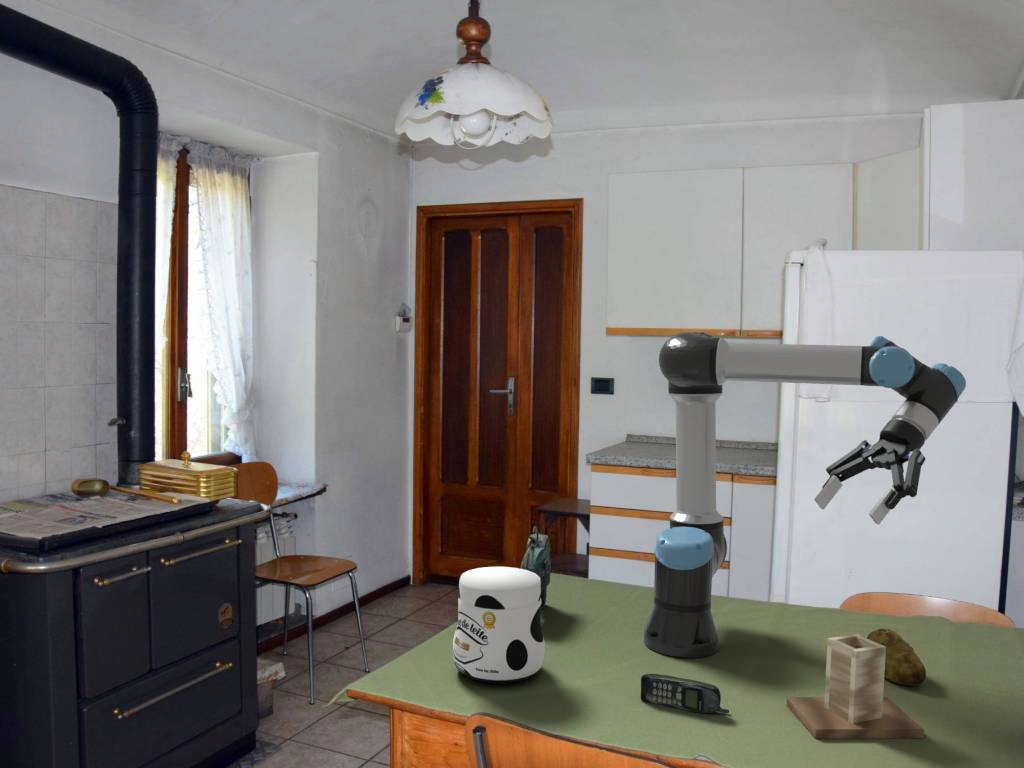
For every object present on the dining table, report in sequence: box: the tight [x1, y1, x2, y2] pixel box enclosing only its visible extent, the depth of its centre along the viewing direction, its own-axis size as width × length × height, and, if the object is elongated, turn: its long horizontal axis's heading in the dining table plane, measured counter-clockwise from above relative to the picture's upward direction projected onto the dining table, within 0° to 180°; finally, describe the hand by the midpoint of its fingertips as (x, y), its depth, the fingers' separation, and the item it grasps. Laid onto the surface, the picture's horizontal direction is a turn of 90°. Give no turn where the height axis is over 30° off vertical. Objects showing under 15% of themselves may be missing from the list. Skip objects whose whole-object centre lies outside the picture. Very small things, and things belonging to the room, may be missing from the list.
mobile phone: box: [640, 673, 730, 714], centre depth 147 cm, size 5×3×15 cm
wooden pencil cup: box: [824, 633, 886, 724], centre depth 142 cm, size 6×6×12 cm
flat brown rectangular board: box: [785, 696, 925, 740], centre depth 143 cm, size 18×12×9 cm, turn 94°
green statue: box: [519, 525, 552, 609], centre depth 192 cm, size 20×6×20 cm, turn 169°
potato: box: [866, 628, 927, 687], centre depth 162 cm, size 8×13×8 cm, turn 176°
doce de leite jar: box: [452, 566, 546, 684], centre depth 159 cm, size 17×17×18 cm
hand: (845, 511), depth 160 cm, fingers open, 13 cm apart
